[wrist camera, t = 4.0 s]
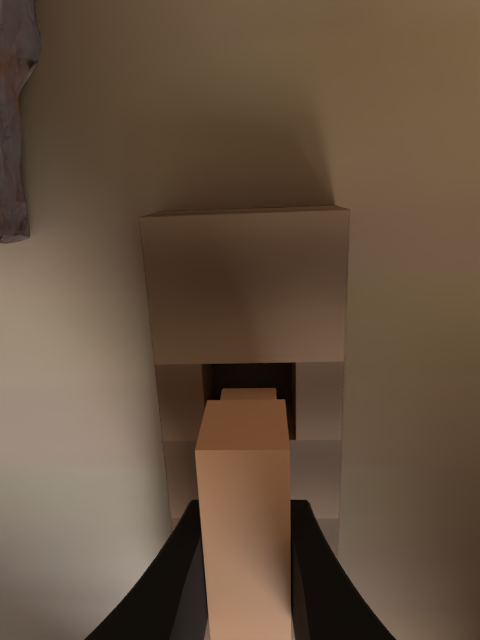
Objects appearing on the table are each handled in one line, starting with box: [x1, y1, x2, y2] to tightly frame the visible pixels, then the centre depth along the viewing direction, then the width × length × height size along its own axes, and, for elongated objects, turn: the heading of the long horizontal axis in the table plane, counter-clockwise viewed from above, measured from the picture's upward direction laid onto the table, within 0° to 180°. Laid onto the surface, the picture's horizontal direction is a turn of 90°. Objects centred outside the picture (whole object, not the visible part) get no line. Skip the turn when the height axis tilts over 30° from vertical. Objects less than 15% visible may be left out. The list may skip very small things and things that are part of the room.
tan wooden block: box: [195, 388, 291, 640], centre depth 14 cm, size 9×2×5 cm, turn 2°
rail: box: [139, 205, 350, 640], centre depth 16 cm, size 18×6×2 cm, turn 2°
